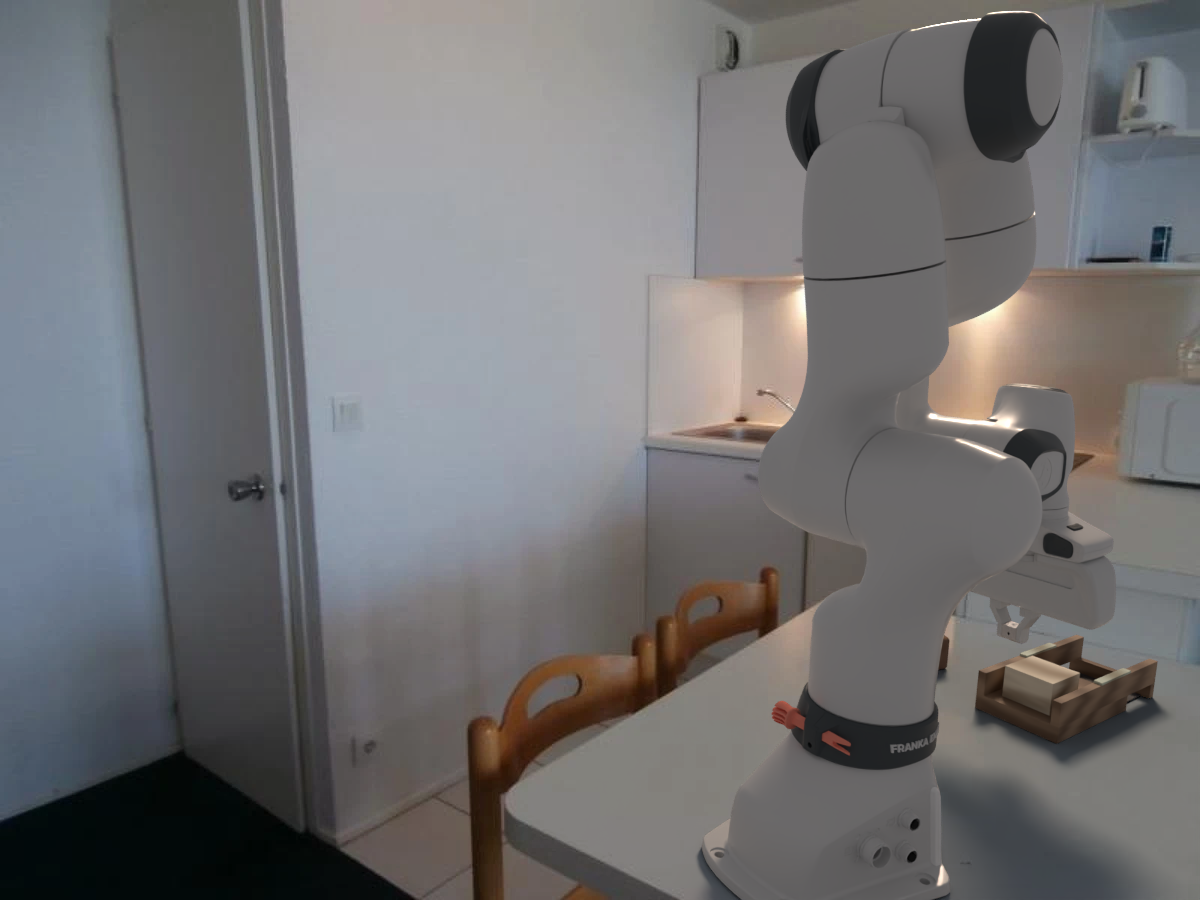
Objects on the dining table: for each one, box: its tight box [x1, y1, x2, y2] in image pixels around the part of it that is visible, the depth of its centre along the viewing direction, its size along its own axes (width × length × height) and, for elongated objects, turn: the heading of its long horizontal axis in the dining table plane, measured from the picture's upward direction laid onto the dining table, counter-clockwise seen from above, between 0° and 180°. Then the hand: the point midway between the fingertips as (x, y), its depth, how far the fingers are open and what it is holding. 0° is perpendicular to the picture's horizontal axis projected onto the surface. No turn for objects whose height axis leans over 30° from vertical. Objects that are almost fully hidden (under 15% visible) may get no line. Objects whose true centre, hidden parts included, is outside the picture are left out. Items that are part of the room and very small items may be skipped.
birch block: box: [1002, 656, 1080, 716], centre depth 105 cm, size 6×6×4 cm
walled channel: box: [974, 634, 1159, 744], centre depth 108 cm, size 23×10×5 cm, turn 123°
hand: (1012, 639), depth 99 cm, fingers closed
